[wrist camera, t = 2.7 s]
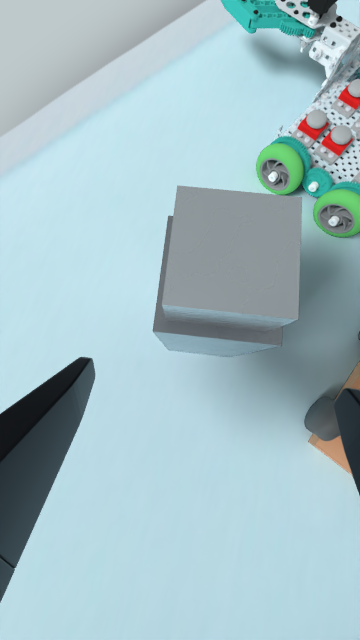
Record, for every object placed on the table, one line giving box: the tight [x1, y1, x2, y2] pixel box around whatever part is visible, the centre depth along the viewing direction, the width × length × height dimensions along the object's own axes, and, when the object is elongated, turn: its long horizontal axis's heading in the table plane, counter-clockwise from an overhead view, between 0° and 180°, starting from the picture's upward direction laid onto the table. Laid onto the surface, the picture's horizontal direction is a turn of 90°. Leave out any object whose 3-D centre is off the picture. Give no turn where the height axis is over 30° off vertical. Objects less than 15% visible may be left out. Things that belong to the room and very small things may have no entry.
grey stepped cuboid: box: [153, 186, 302, 357], centre depth 14 cm, size 5×5×14 cm
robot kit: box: [221, 0, 360, 237], centre depth 20 cm, size 19×25×9 cm
